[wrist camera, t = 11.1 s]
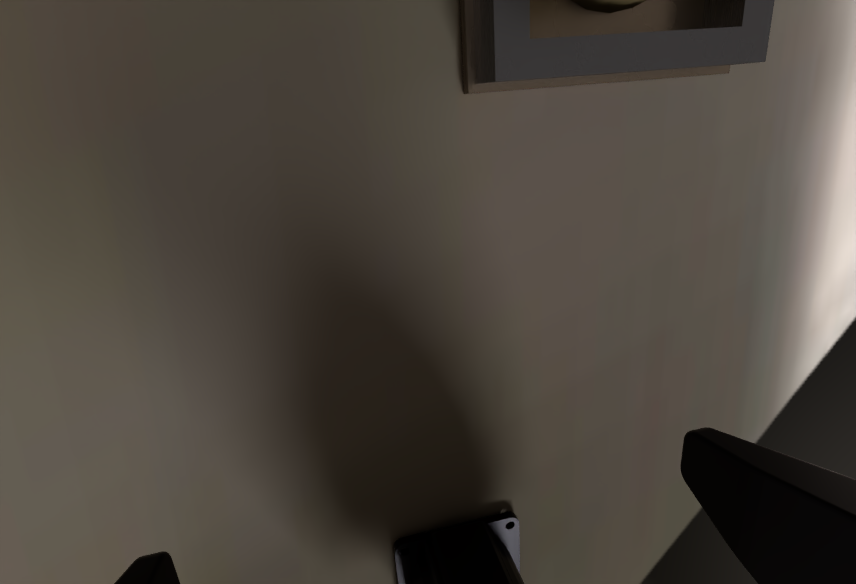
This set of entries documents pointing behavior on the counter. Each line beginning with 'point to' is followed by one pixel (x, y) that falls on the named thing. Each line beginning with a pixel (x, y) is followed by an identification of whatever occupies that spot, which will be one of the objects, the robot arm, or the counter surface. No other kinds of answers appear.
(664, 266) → the counter surface
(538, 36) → the socket block
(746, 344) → the counter surface
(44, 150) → the counter surface
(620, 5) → the cork
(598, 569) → the counter surface
